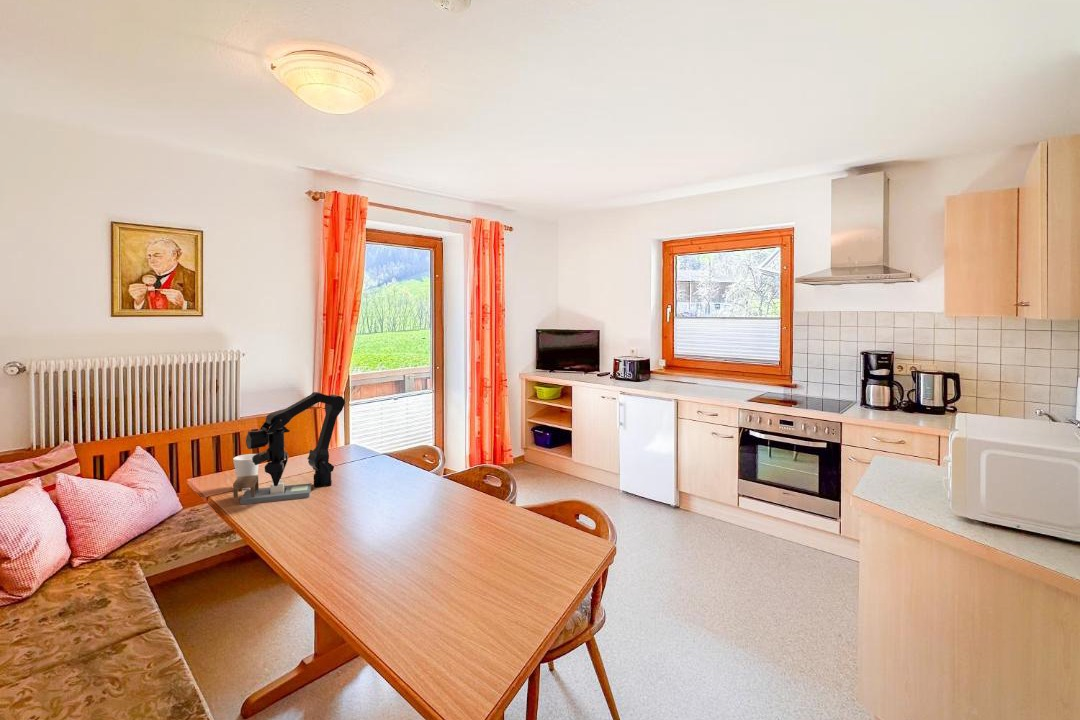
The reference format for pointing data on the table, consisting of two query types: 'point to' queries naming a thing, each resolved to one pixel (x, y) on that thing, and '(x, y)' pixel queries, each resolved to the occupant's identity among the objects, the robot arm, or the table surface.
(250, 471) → the foam cup
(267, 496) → the board
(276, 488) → the block
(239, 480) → the slide cover
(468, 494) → the table surface
